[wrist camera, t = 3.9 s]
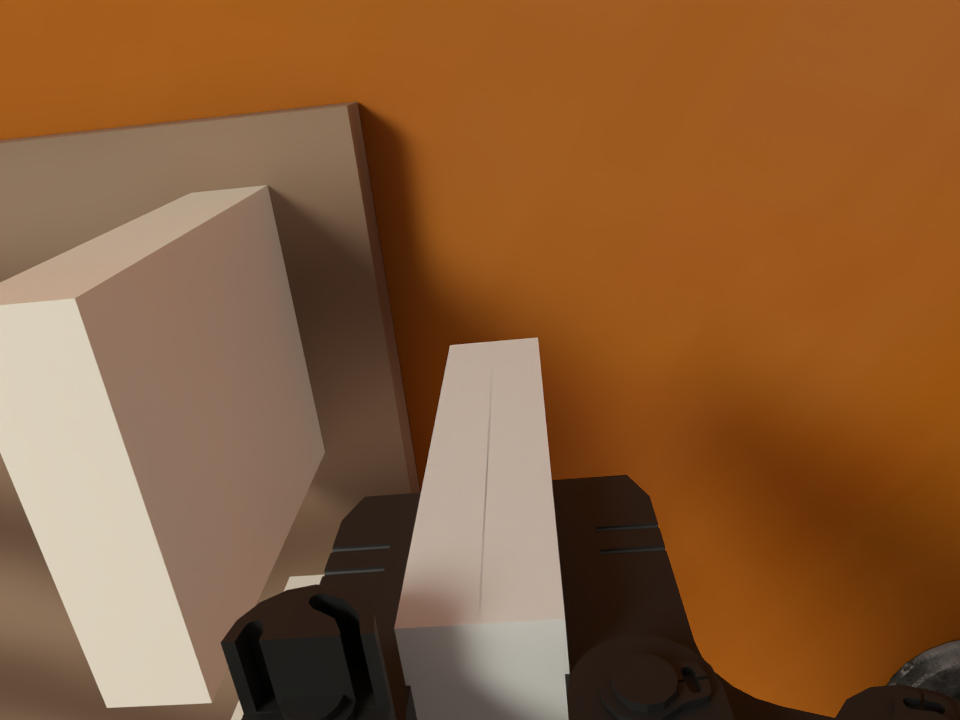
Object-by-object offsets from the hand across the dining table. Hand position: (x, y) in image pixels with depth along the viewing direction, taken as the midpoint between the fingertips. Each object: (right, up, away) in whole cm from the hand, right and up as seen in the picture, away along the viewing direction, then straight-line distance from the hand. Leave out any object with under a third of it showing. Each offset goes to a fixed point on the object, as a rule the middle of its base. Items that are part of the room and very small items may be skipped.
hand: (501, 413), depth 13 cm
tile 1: (-6, +2, +5) cm, 8 cm away
